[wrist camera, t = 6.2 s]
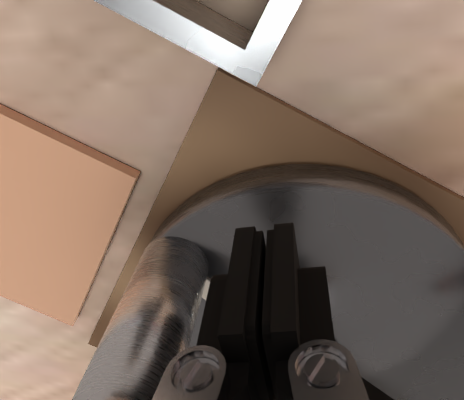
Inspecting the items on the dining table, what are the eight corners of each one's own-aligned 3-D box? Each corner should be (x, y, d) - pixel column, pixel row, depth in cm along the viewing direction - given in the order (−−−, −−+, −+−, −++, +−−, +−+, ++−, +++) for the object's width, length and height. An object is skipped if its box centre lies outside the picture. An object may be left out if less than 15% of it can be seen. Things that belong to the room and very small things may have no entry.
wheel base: (347, 445, 24) (347, 452, 23) (91, 337, 22) (88, 343, 21) (571, 254, 17) (577, 261, 16) (218, 67, 15) (217, 70, 14)
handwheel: (553, 312, 17) (734, 557, 10) (304, 450, 23) (312, 660, 16) (283, 76, 14) (279, 200, 7) (78, 311, 20) (-34, 500, 13)
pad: (77, 317, 21) (72, 326, 21) (-106, 238, 20) (-116, 246, 19) (140, 171, 17) (136, 178, 16) (-90, 60, 16) (-103, 64, 15)
